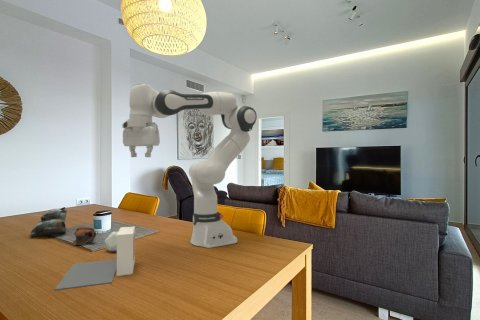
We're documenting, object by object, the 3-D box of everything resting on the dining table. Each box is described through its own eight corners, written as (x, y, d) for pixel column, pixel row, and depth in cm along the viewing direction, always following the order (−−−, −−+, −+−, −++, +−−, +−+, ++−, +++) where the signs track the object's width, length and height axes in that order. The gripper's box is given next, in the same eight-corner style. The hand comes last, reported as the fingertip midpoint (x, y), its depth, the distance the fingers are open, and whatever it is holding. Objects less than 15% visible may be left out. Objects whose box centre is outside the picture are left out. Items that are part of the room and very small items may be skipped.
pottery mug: (65, 246, 118) (70, 228, 122) (83, 249, 126) (86, 232, 130) (87, 242, 115) (90, 223, 119) (103, 245, 123) (106, 228, 127)
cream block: (135, 262, 99) (135, 226, 99) (133, 274, 90) (133, 233, 90) (120, 264, 98) (120, 227, 98) (116, 276, 88) (116, 235, 88)
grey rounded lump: (22, 237, 129) (29, 207, 136) (48, 241, 140) (54, 213, 147) (47, 230, 124) (53, 199, 132) (72, 234, 136) (77, 206, 143)
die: (112, 256, 107) (128, 236, 110) (96, 245, 108) (112, 225, 111) (120, 256, 115) (135, 237, 117) (105, 246, 116) (120, 227, 119)
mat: (119, 259, 102) (119, 258, 102) (111, 282, 83) (111, 282, 83) (74, 264, 97) (74, 263, 97) (54, 290, 78) (54, 289, 78)
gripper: (163, 122, 104) (163, 157, 104) (133, 126, 115) (133, 157, 116) (150, 120, 99) (150, 157, 99) (119, 124, 110) (119, 157, 110)
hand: (140, 157), depth 107 cm, fingers open, 8 cm apart
